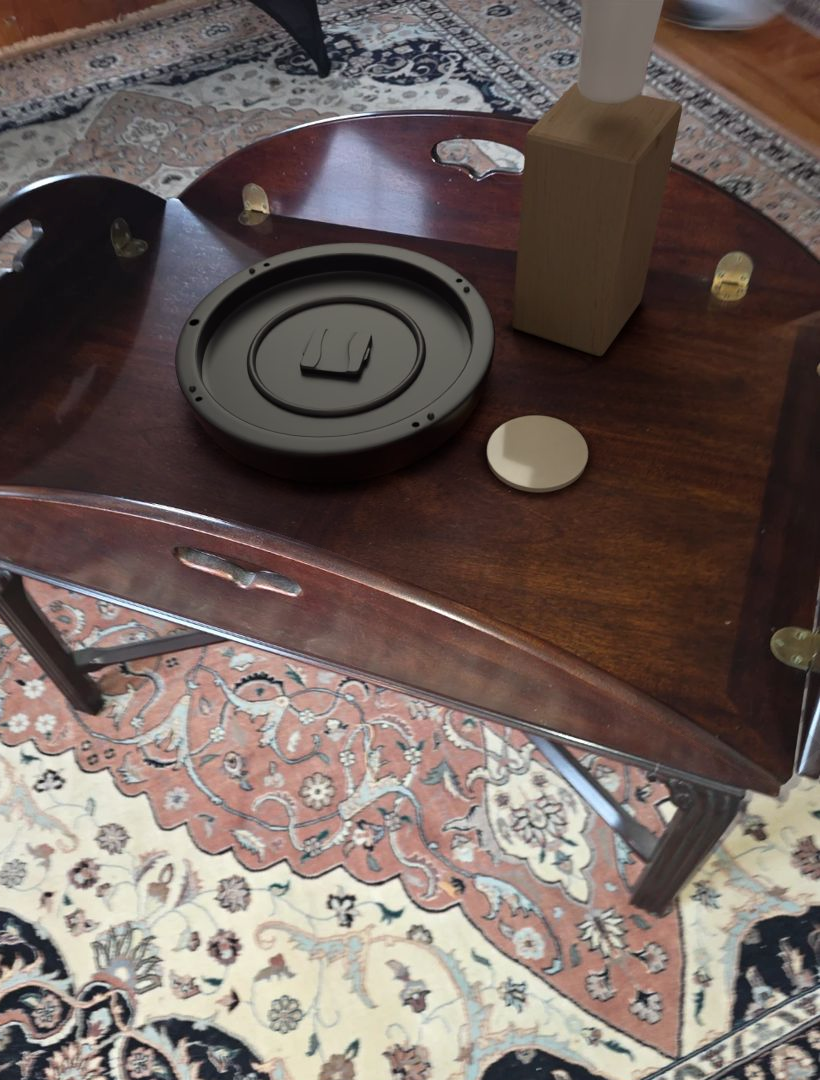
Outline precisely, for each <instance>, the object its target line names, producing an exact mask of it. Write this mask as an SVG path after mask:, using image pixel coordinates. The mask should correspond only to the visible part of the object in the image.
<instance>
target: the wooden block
mask: <svg viewBox="0 0 820 1080" xmlns="http://www.w3.org/2000/svg"><path fill="white" fill-rule="evenodd" d="M682 112H683V105H682V104H681V103H680V102H676V101H672V100H667V99H663V98H659V97H654V96H649V95H644V94H640V93H639V94H638V95H637V96H636V97H635V98H633V99H631V100H629V101H627V102H623V103H619V104H601V103H596V102H592V101H590V100H588V99H586V98H585V97H583V96H582V95H581V94H580V92H579V90H578V87H577V81H575V82H574V83H573V84H572V85H571V86H570V87H569V88H568V89H566V91H565V92H564V94H562V96H561V97H560V98H559V99H557V101H556V102H555V103H554V104H553V105H551V107H550V108H549V109H548V110H547V111H546V112H545V113H544V114H543V115H542V116H541V118H539V120H538V121H536V123H535V124H534V125H533V126H532V127H531V128H530V129H529V130H528V131H527V133H526V135H525V145H524V146H525V147H524V159H523V172H522V187H521V189H522V190H521V199H520V214H519V216H520V217H519V226H518V240H517V241H518V242H517V252H516V253H517V255H516V270H515V284H514V295H513V306H512V307H513V308H512V309H513V310H512V323H511V325H512V328H513V329H514V330H517V331H521V332H523V333H526V334H530V335H532V336H536V337H538V338H540V339H544V340H547V341H550V342H554V343H556V344H558V345H562V346H565V347H567V348H568V347H569V348H572V349H574V350H577V351H580V352H583V353H586V354H590V355H593V356H595V357H602V356H604V354H605V353H606V351H607V350H608V348H609V347H610V346H611V345H612V343H613V341H614V340H615V339H616V338H617V336H618V335H619V333H620V332H621V331H622V329H623V327H624V326H625V325H626V324H627V322H628V321H629V319H630V318H631V316H632V315H633V313H634V312H635V311H636V309H637V308H638V306H639V305H640V304H641V302H642V299H643V294H644V289H645V285H646V281H647V275H648V271H649V266H650V263H651V262H650V261H651V258H652V253H653V248H654V244H655V239H656V234H657V229H658V224H659V219H660V215H661V210H662V205H663V201H664V196H665V192H666V188H667V184H668V183H667V182H668V177H669V173H670V168H671V164H672V159H673V154H674V149H675V145H676V141H677V136H678V132H679V127H680V122H681V118H682Z"/></svg>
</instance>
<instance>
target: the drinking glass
mask: <svg viewBox="0 0 820 1080" xmlns="http://www.w3.org/2000/svg"><path fill="white" fill-rule="evenodd" d="M664 2H665V0H581V11H580V35H579V36H580V38H579V60H578V69H577V78H576V82H577V87H578V90H579V92H580V94H581V95H582V96H583V97H585V98H586V99H588V100H590V101H592V102H596V103H601V104H619V103H623V102H627V101H629V100H631V99H633V98H635V97H636V96H637V95H638V94H640V93H641V92H642V91H643V89H644V86H645V83H646V78H647V73H648V67H649V66H648V65H649V61H650V57H651V54H652V53H651V52H652V49H653V45H654V41H655V38H656V33H657V29H658V25H659V21H660V17H661V13H662V9H663V5H664Z"/></svg>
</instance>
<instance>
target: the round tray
mask: <svg viewBox="0 0 820 1080" xmlns="http://www.w3.org/2000/svg"><path fill="white" fill-rule="evenodd" d="M495 346H496V328H495V323H494V319H493V315H492V314H491V311H490V308H489V306H488V304H487V303H486V301H485V299H484V298H483V296H482V294H481V293H480V292H479V290H478V289H477V288H476V287H475V286H474V285H473V284H472V283H471V281H469V280H468V279H467V278H465V276H463V275H462V274H461V273H459V272H458V271H457V270H455V269H454V268H452V267H450V266H449V265H447V264H445V263H443V262H442V261H439V260H438V259H436V258H433V257H431V256H429V255H425V254H423V253H419V252H417V251H415V250H411V249H407V248H402V247H398V246H394V245H388V244H379V243H371V242H370V243H369V242H337V243H335V242H334V243H325V244H318V245H312V246H305V247H302V248H301V247H300V248H296V249H293V250H288V251H286V252H281V253H279V254H276V255H273V256H270V257H267V258H265V259H262V260H259V261H258V262H255V263H253V264H251V265H248V266H247V267H245V268H243V269H241V270H239V271H238V272H236V273H234V274H233V275H231V276H229V277H228V278H226V279H225V280H224V281H222V282H221V283H219V284H218V285H216V287H215V288H213V289H211V291H210V292H209V293H208V294H207V295H205V297H203V299H201V301H199V303H198V304H197V305H196V306H195V307H194V309H193V310H192V312H191V313H190V314H189V316H188V317H187V319H186V321H185V322H184V324H183V327H182V328H181V330H180V333H179V337H178V340H177V343H176V347H175V356H174V369H175V374H176V379H177V382H178V386H179V388H180V389H179V390H180V391H181V393H182V395H183V398H184V400H185V402H186V404H187V406H188V407H189V409H190V410H191V412H192V414H193V416H194V417H195V419H196V420H197V422H198V423H199V424H200V426H201V427H202V429H203V430H204V431H205V433H206V434H207V435H208V436H209V437H210V438H211V439H212V440H213V441H214V442H215V443H216V444H217V445H218V447H219V446H220V447H221V448H222V450H224V451H225V452H226V453H228V454H229V455H230V456H232V457H233V458H234V459H236V460H238V461H240V462H241V463H243V464H245V465H247V466H250V468H251V467H252V468H254V469H256V470H259V471H261V472H263V473H267V474H269V475H272V476H275V477H279V478H284V479H287V480H293V481H299V482H306V483H317V484H318V483H320V484H322V483H323V484H330V483H331V484H332V483H333V484H334V483H348V482H349V483H350V482H355V481H362V480H367V479H372V478H375V477H380V476H383V475H386V474H389V473H392V472H395V471H398V470H400V469H402V468H403V469H404V468H406V467H407V466H410V465H412V464H413V463H415V462H418V461H419V460H422V459H423V458H425V457H426V456H428V455H430V454H431V453H433V452H435V450H437V449H438V448H439V447H441V446H442V445H444V444H445V443H446V442H447V441H449V440H450V439H451V438H452V437H453V436H454V435H455V434H457V432H458V431H459V430H460V429H461V428H462V427H463V426H464V424H465V423H467V420H468V419H469V418H470V416H471V415H472V413H473V411H474V410H475V408H476V406H477V405H478V403H479V401H480V399H481V397H482V395H483V393H484V390H485V388H486V385H487V382H488V380H489V376H490V373H491V370H492V364H493V361H494V355H495V349H496V347H495Z"/></svg>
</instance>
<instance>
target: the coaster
mask: <svg viewBox="0 0 820 1080" xmlns="http://www.w3.org/2000/svg"><path fill="white" fill-rule="evenodd" d="M485 453H486V461H487V465H488V467H489V469H490V471H491V472H492V473H493V475H494V476H495V477H496V478H497V479H498V480H500V481H501V482H502V483H504V484H505V485H507V486H509V487H510V488H513V489H516V490H519V491H522V492H528V493H549V492H550V493H551V492H554V491H559V490H562V489H564V488H566V487H568V486H570V485H571V484H573V483H574V482H576V481H577V480H578V479H579V478H580V477H581V476H582V475H583V473H584V471H585V469H586V468H587V463H588V459H589V449H588V444H587V442H586V439H585V438H584V437H583V435H582V434H581V433H580V431H578V430H577V428H575V427H573V425H571V424H569V423H568V422H566V421H563V420H561V419H559V418H556V417H551V416H546V415H525V416H519V417H516V418H513V419H511V420H508V421H506V422H504V423H502V424H501V425H499V427H497V428H496V429H495V430H494V432H493V433H492V434H491V435H490V437H489V439H488V441H487V445H486V452H485Z"/></svg>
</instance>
